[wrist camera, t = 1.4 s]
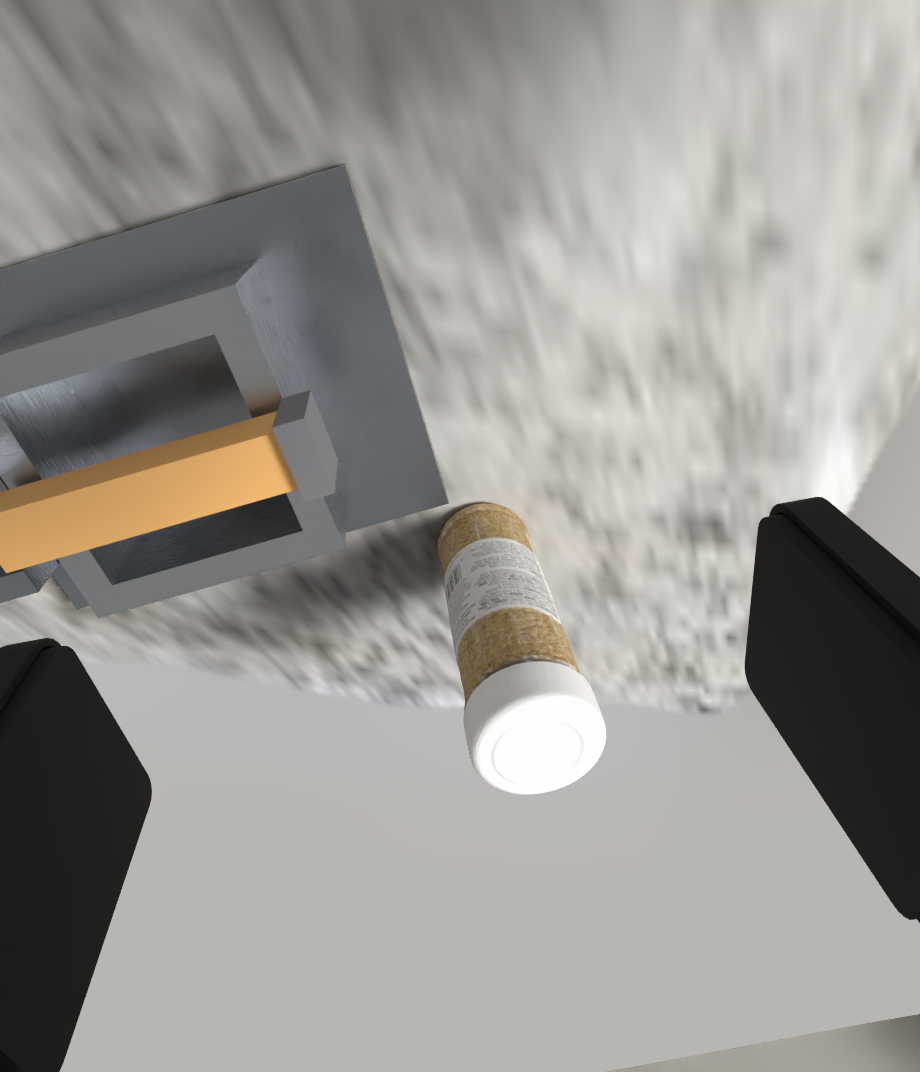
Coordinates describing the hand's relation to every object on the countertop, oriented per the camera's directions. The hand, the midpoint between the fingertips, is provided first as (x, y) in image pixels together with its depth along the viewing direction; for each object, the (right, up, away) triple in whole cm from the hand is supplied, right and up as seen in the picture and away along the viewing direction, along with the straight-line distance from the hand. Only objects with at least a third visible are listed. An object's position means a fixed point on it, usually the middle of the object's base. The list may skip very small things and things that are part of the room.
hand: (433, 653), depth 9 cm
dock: (-11, +7, +19) cm, 23 cm away
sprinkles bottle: (+1, +2, +24) cm, 24 cm away
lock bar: (-9, +4, +14) cm, 17 cm away
